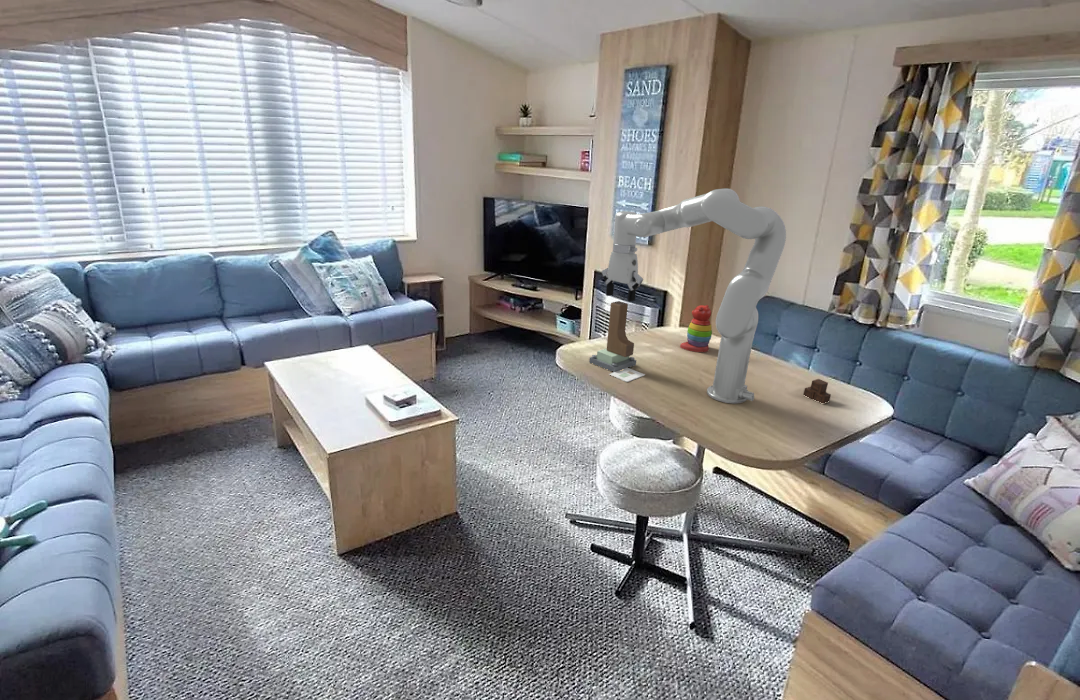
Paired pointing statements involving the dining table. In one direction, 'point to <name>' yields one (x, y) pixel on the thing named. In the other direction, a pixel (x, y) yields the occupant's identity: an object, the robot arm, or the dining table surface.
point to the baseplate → (614, 365)
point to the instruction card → (627, 374)
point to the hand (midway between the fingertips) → (620, 298)
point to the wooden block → (618, 330)
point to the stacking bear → (699, 330)
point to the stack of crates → (818, 391)
